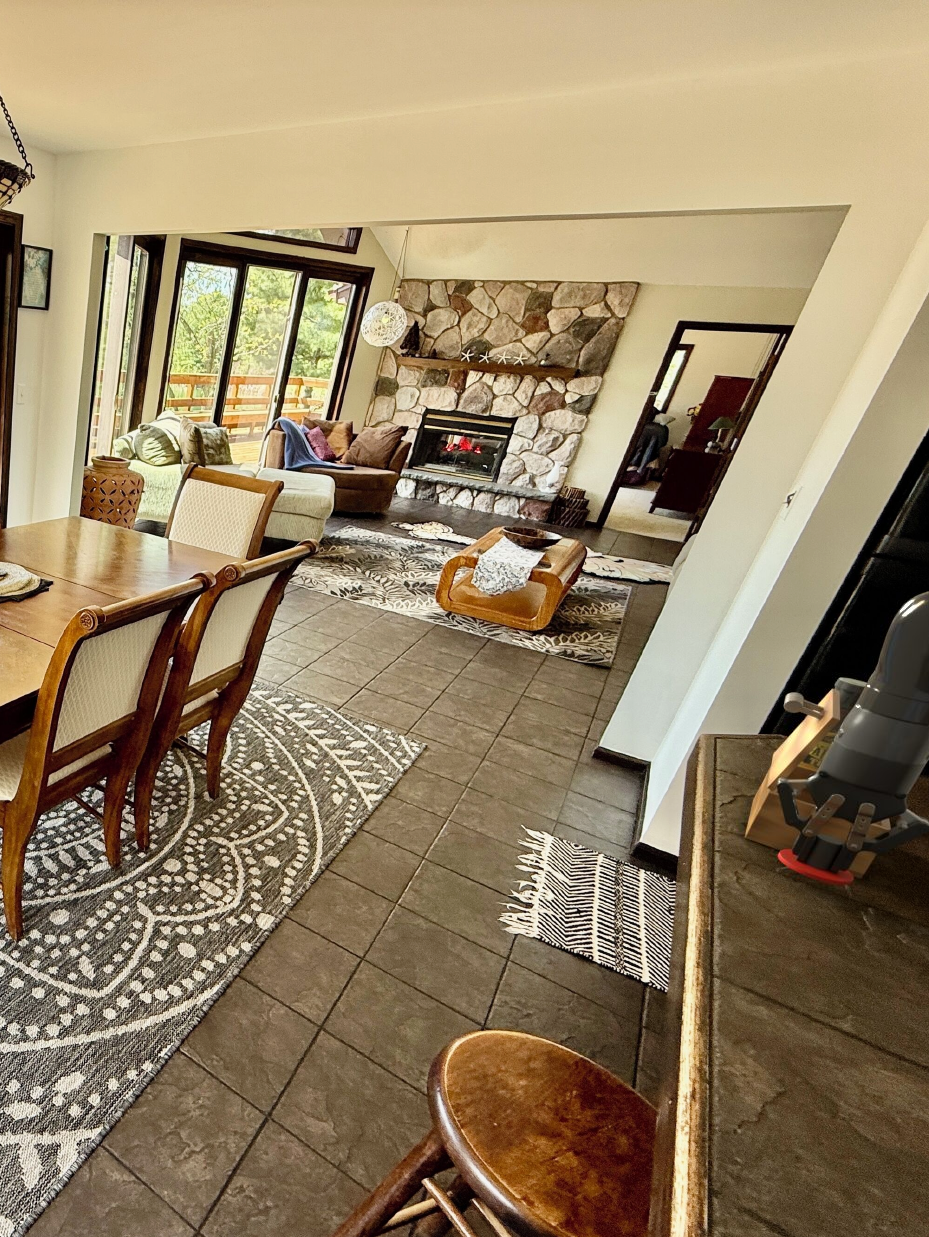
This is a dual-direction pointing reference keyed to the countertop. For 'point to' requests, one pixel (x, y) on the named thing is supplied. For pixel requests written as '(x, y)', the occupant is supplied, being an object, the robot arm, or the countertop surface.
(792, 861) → the pan lid
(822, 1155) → the countertop surface
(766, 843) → the chest
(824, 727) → the chest lid
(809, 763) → the sauce bottle
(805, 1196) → the countertop surface
